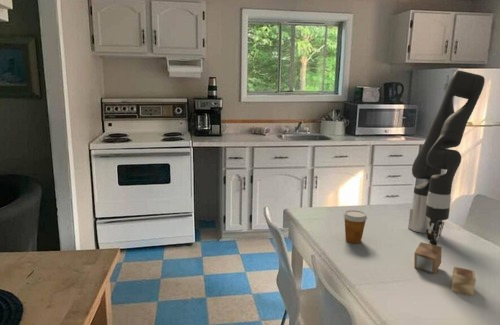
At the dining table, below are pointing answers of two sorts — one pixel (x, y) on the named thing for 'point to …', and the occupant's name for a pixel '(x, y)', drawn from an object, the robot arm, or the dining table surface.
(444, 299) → the dining table surface
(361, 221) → the disposable coffee cup
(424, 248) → the walnut block
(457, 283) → the oak block
